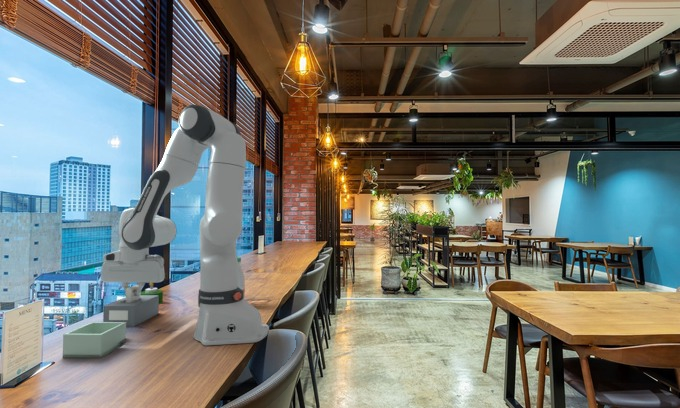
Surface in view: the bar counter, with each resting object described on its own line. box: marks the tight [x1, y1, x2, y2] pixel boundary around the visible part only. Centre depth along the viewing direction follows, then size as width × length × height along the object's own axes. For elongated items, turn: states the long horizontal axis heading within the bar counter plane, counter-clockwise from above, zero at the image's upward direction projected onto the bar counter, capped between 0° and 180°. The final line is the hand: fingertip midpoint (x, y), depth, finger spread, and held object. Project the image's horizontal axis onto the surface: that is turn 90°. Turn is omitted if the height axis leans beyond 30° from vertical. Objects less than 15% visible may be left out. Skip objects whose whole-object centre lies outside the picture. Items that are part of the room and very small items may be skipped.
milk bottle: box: [237, 256, 246, 300], centre depth 135 cm, size 8×8×20 cm
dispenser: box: [102, 295, 160, 328], centre depth 114 cm, size 10×14×9 cm
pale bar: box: [125, 284, 140, 303], centre depth 114 cm, size 2×5×11 cm, turn 179°
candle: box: [141, 283, 164, 305], centre depth 138 cm, size 8×8×10 cm
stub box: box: [62, 321, 127, 359], centre depth 92 cm, size 10×10×6 cm
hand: (133, 295), depth 115 cm, fingers closed on pale bar, 2 cm apart
